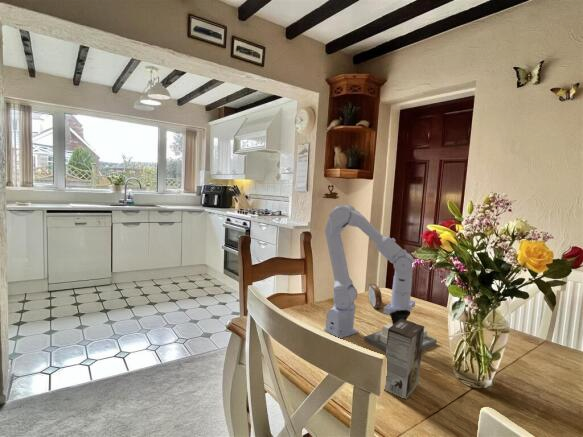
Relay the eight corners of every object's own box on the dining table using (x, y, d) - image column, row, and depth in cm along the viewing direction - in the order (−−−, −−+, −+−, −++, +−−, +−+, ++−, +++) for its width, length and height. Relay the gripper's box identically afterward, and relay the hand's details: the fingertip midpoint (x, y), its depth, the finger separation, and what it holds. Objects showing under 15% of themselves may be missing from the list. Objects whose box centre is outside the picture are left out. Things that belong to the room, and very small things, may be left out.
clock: (381, 311, 137) (383, 291, 136) (373, 311, 137) (375, 291, 137) (373, 299, 152) (375, 281, 151) (366, 298, 152) (368, 280, 151)
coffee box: (395, 374, 90) (401, 317, 89) (418, 384, 86) (425, 325, 85) (381, 389, 83) (387, 327, 82) (406, 401, 79) (413, 336, 78)
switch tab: (391, 346, 103) (393, 331, 102) (379, 340, 107) (381, 325, 106) (401, 343, 106) (402, 328, 106) (389, 337, 110) (390, 322, 109)
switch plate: (400, 360, 98) (402, 348, 98) (364, 340, 109) (365, 330, 109) (436, 344, 111) (437, 334, 110) (400, 328, 122) (401, 318, 121)
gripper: (398, 298, 99) (394, 341, 100) (425, 291, 108) (420, 331, 109) (379, 291, 105) (375, 332, 106) (406, 285, 113) (402, 323, 115)
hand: (397, 331), depth 108 cm, fingers closed
